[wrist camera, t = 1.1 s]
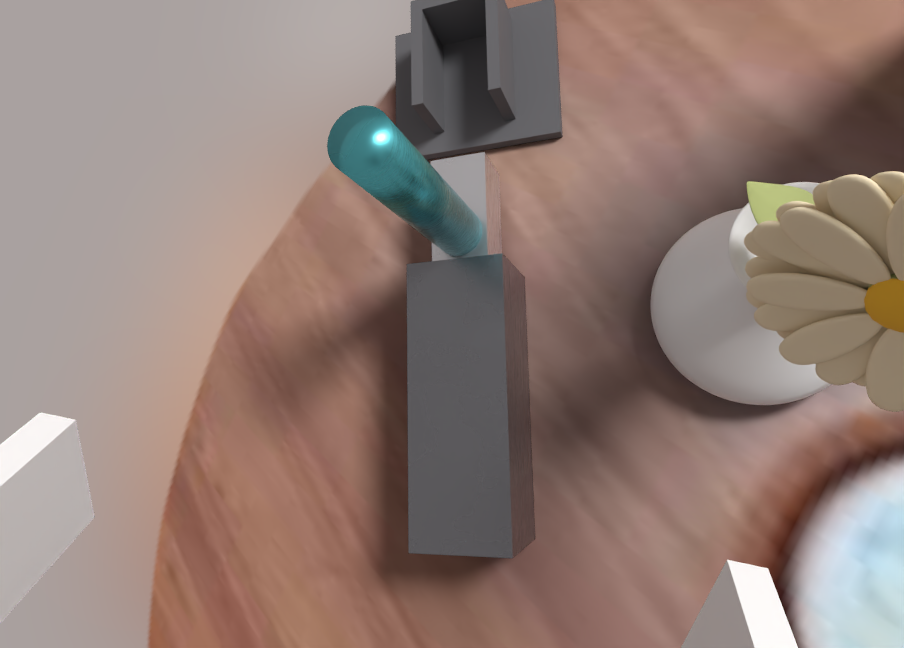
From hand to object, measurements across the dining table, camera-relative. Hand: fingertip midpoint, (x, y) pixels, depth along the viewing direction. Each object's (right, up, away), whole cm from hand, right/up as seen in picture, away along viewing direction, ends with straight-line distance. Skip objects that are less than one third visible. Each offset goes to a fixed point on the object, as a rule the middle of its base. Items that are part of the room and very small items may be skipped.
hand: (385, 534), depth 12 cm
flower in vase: (+20, +4, +24) cm, 31 cm away
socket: (+3, +21, +32) cm, 39 cm away
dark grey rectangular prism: (+4, -1, +28) cm, 28 cm away
